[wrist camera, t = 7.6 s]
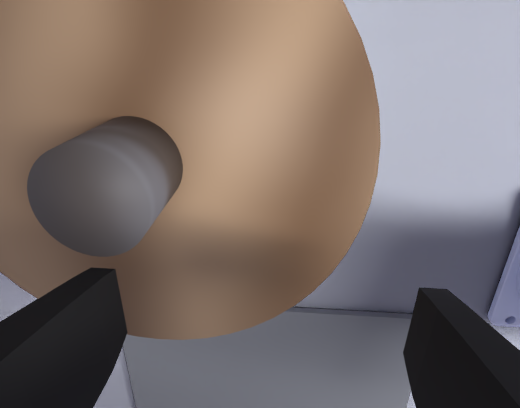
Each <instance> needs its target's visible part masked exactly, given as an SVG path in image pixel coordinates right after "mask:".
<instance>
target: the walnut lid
mask: <svg viewBox="0 0 520 408" xmlns="http://www.w3.org/2000/svg"><path fill="white" fill-rule="evenodd" d="M379 153H380V119H379V106H378V100H377V95H376V89H375V84H374V78H373V73H372V70H371V67H370V64H369V61H368V58H367V55H366V52H365V48H364V45H363V42H362V39H361V37H360V35H359V33H358V31H357V28H356V26H355V24H354V22H353V20H352V18H351V16H350V14H349V12H348V10H347V8H346V6H345V4H344V2H343V0H0V272H1V273H2V274H4V275H5V276H6V277H8V278H9V279H10V280H11V281H13V282H14V283H15V284H17V285H18V286H19V287H20V288H22V289H24V290H25V291H27V292H28V293H30V294H31V295H33V296H34V297H36V298H38V299H39V298H40V297H42V296H43V295H45V294H47V293H48V292H50V291H52V290H53V289H55V288H56V287H58V286H60V285H61V284H63V283H65V282H66V281H68V280H70V279H71V278H73V277H75V276H76V275H78V274H80V273H82V272H84V271H86V270H87V269H89V268H91V267H93V268H109V269H115V270H116V275H117V280H118V285H119V290H120V296H121V301H122V306H123V311H124V316H125V321H126V327H127V332H128V333H127V334H128V335H132V336H137V337H145V338H154V339H169V340H188V339H202V338H210V337H216V336H221V335H227V334H231V333H234V332H238V331H241V330H244V329H248V328H251V327H254V326H256V325H258V324H261V323H263V322H265V321H268V320H270V319H272V318H274V317H276V316H278V315H279V314H281V313H283V312H285V311H286V310H288V309H290V308H291V307H293V306H295V305H296V304H297V303H299V302H300V301H301V300H303V299H304V298H305V297H306V296H308V295H309V294H310V293H312V292H313V291H314V290H315V289H316V288H317V287H318V286H319V285H320V284H321V283H322V282H323V281H324V280H325V279H326V278H327V277H328V276H329V275H330V274H331V273H332V272H333V270H334V269H335V268H336V266H337V265H338V264H339V263H340V261H341V260H342V259H343V257H344V256H345V255H346V253H347V252H348V250H349V248H350V246H351V245H352V243H353V241H354V239H355V238H356V236H357V234H358V232H359V231H360V228H361V226H362V223H363V221H364V218H365V216H366V213H367V211H368V208H369V206H370V203H371V199H372V195H373V190H374V186H375V182H376V178H377V173H378V163H379Z"/></svg>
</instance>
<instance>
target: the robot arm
mask: <svg viewBox="0 0 520 408" xmlns="http://www.w3.org/2000/svg"><path fill="white" fill-rule="evenodd" d="M510 316H511V317H510ZM507 317H509V318H507ZM488 319H489V320H490V322H491V323H492V324H493V325H496V326H508V327H520V227H519V229H518V232H517V235H516V238H515V240H514V243H513V246H512V249H511V252H510V254H509V257H508V260H507V263H506V265H505V268H504V271H503V274H502V276H501V279H500V282H499V285H498V288H497V290H496V293H495V296H494V299H493V301H492V304H491V307H490V310H489V313H488ZM127 333H128V332H127V327H126V321H125V316H124V311H123V306H122V301H121V296H120V290H119V285H118V280H117V275H116V270H115V269H109V268H93V267H91V268H89V269H87V270H86V271H84V272H82V273H80V274H78V275H76V276H75V277H73V278H71V279H70V280H68V281H66V282H65V283H63V284H61V285H60V286H58V287H56V288H55V289H53V290H52V291H50V292H48V293H47V294H45V295H43V296H42V297H40V298H39V299H37V300H35V301H34V302H32V303H30V304H29V305H27V306H25V307H24V308H22V309H20V310H19V311H17V312H16V313H14V314H12V315H11V316H9V317H7V318H6V319H4V320H2V321H1V322H0V408H93V407H94V405H95V403H96V401H97V399H98V397H99V396H100V394H101V392H102V390H103V388H104V386H105V384H106V383H107V381H108V379H109V377H110V375H111V373H112V371H113V368H114V366H115V364H116V361H117V359H118V356H119V354H120V351H121V349H122V346H123V343H124V341H125V338H126V335H127ZM403 355H404V360H405V365H406V370H407V374H408V379H409V383H410V387H411V391H412V396H413V399H414V402H415V405H416V408H520V350H518V349H517V348H516V347H515V346H514V345H512V344H511V343H510V342H509V341H508V340H507V339H505V338H504V337H503V336H502V335H501V334H499V333H498V332H497V331H496V330H495V329H494V328H492V327H491V326H490V325H489V324H488V323H487V322H485V321H484V320H483V319H482V318H481V317H480V316H478V315H477V314H476V313H475V312H474V311H473V310H471V309H470V308H469V307H468V306H467V305H466V304H464V303H463V302H462V301H461V300H460V299H458V298H457V297H456V296H455V295H453V294H452V293H451V292H450V291H448V290H447V289H434V288H419V291H418V295H417V299H416V303H415V307H414V311H413V315H412V319H411V323H410V327H409V331H408V335H407V339H406V343H405V347H404V351H403Z"/></svg>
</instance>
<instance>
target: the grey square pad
mask: <svg viewBox="0 0 520 408" xmlns="http://www.w3.org/2000/svg"><path fill="white" fill-rule="evenodd" d="M412 315H413V314H403V313H386V312H368V311H351V310H333V309H316V308H299V307H291V308H290V309H288V310H286V311H285V312H283V313H281V314H279V315H278V316H276V317H274V318H272V319H270V320H268V321H265V322H263V323H261V324H258V325H256V326H254V327H251V328H248V329H244V330H241V331H238V332H234V333H231V334H227V335H221V336H216V337H210V338H202V339H188V340H169V339H154V338H145V337H137V336H132V335H128V334H127V335H126V338H125V341H124V343H123V348H124V353H125V358H126V362H127V367H128V372H129V376H130V381H131V386H132V391H133V395H134V400H135V405H136V408H406V407H407V403H408V399H409V396H410V392H411V387H410V383H409V379H408V374H407V370H406V365H405V360H404V355H403V351H404V347H405V343H406V339H407V335H408V331H409V327H410V323H411V319H412Z"/></svg>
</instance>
